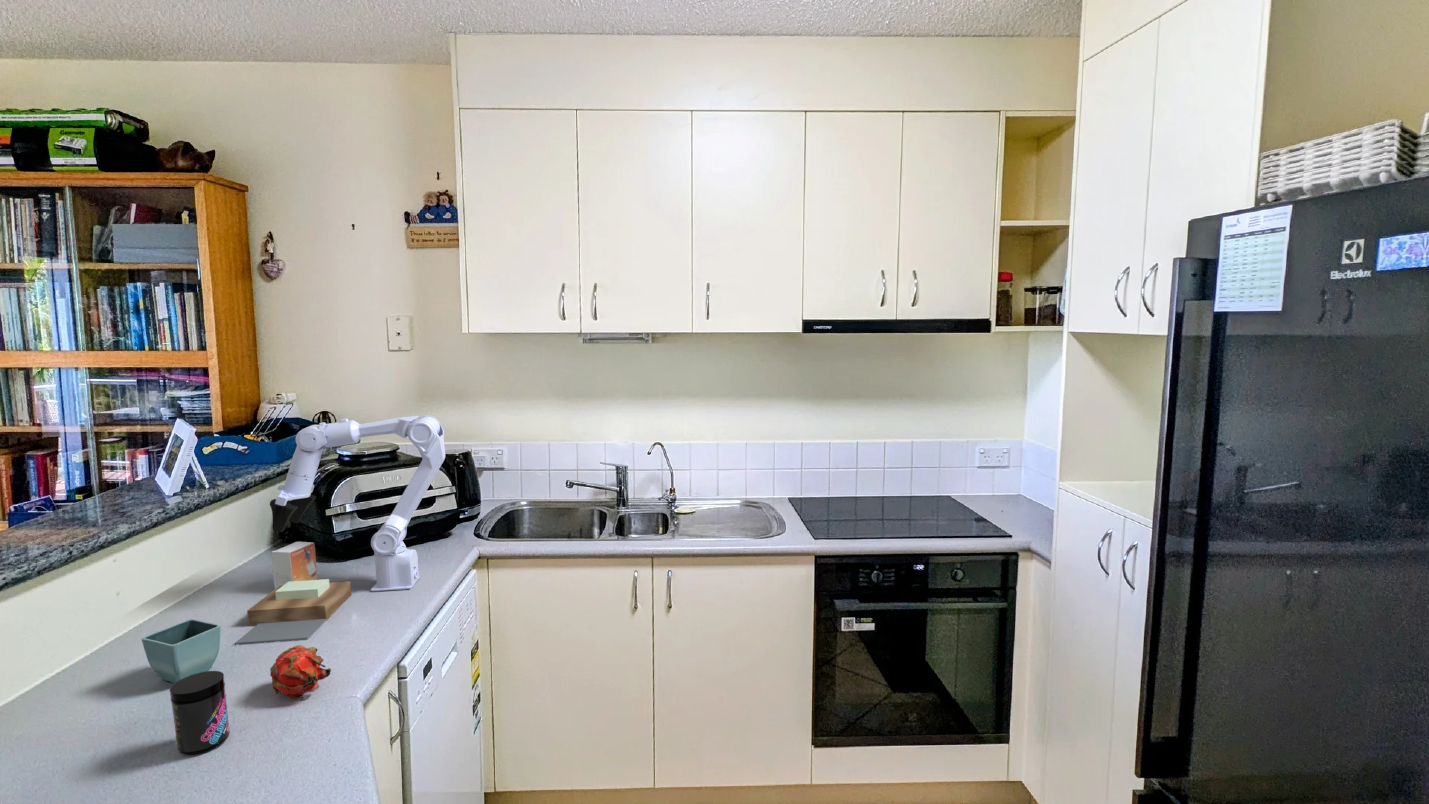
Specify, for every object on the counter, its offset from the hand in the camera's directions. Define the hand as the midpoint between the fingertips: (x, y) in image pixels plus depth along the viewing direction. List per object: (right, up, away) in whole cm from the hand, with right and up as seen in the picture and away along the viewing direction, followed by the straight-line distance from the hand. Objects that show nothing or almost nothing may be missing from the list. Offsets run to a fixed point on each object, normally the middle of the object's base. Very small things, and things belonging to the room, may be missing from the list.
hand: (285, 526), depth 161 cm
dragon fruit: (+29, -22, -41) cm, 55 cm away
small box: (-2, -17, +7) cm, 18 cm away
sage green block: (+8, -15, -6) cm, 18 cm away
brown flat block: (+8, -18, -7) cm, 21 cm away
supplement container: (+23, -24, -56) cm, 65 cm away
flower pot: (+4, -22, -35) cm, 42 cm away
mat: (+11, -19, -18) cm, 29 cm away
